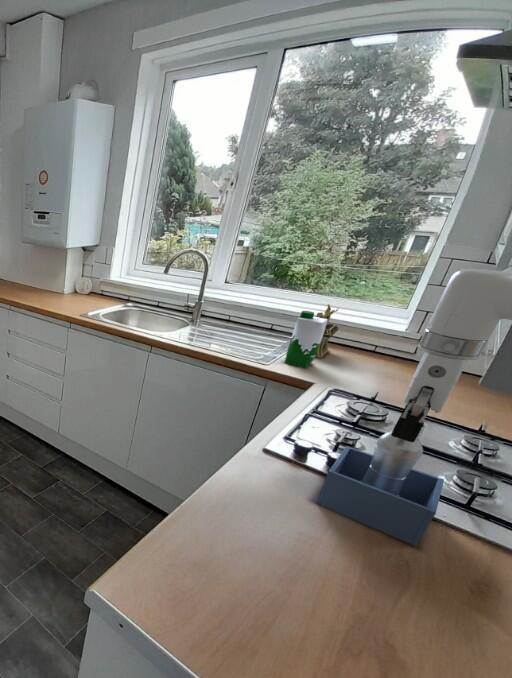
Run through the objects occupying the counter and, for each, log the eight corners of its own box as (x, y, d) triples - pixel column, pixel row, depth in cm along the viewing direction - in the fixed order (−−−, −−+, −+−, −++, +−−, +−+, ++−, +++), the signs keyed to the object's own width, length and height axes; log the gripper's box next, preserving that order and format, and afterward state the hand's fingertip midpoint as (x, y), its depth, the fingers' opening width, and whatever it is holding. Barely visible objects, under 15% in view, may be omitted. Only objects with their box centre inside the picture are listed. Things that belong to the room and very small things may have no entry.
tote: (426, 511, 84) (444, 479, 80) (416, 546, 75) (435, 512, 71) (333, 474, 94) (346, 445, 91) (315, 502, 85) (328, 471, 82)
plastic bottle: (395, 522, 80) (442, 435, 72) (351, 509, 84) (392, 425, 75) (388, 503, 85) (431, 420, 77) (347, 492, 89) (384, 411, 80)
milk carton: (288, 357, 165) (304, 309, 157) (314, 363, 159) (332, 313, 151) (281, 362, 160) (297, 312, 152) (308, 369, 154) (326, 317, 145)
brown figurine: (322, 359, 163) (340, 311, 155) (294, 353, 170) (310, 306, 161) (333, 349, 176) (350, 303, 168) (306, 343, 182) (321, 299, 174)
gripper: (480, 362, 62) (427, 455, 69) (484, 340, 72) (438, 423, 80) (414, 348, 67) (371, 437, 74) (427, 330, 78) (388, 409, 85)
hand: (406, 430), depth 77 cm, fingers open, 9 cm apart
